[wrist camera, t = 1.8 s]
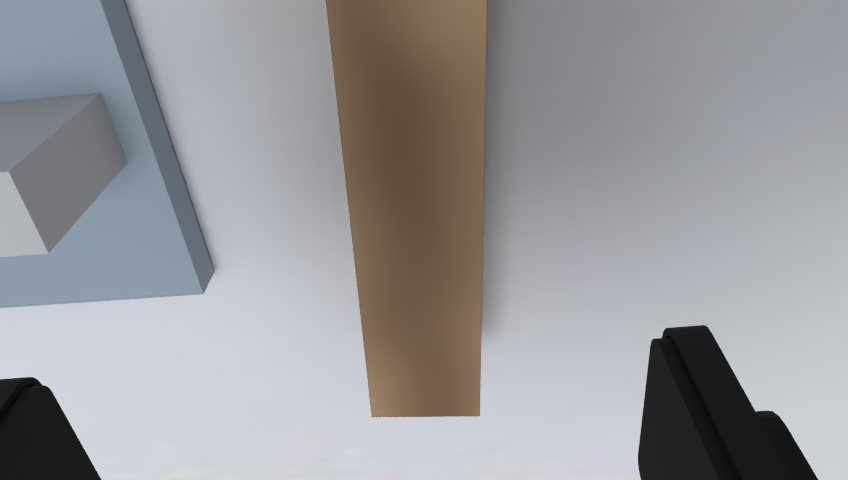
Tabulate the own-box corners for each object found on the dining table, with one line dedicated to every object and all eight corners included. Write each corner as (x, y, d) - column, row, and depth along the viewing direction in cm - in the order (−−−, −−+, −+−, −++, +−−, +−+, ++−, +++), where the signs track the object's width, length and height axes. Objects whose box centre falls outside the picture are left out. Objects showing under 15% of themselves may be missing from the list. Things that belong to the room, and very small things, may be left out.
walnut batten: (479, -342, 17) (493, -391, 13) (473, 327, 29) (479, 416, 25) (322, -334, 17) (284, -380, 13) (381, 328, 29) (371, 416, 25)
